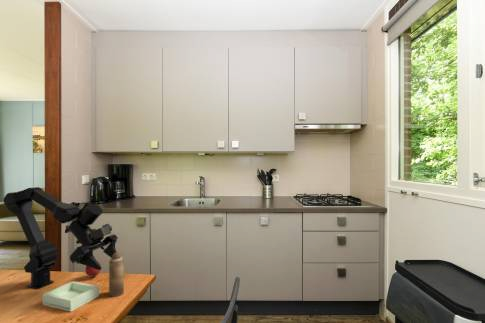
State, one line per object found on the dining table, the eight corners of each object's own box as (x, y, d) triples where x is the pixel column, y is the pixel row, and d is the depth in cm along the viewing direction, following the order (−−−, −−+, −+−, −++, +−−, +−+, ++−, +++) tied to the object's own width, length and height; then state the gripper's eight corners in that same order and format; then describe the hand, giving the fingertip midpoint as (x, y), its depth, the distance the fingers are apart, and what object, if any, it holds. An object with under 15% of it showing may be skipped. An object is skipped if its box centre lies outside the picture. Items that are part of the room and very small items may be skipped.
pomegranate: (94, 281, 112) (94, 261, 112) (82, 280, 113) (82, 260, 113) (104, 275, 118) (104, 256, 118) (92, 274, 119) (92, 255, 119)
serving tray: (42, 304, 93) (42, 294, 93) (72, 290, 104) (72, 281, 104) (70, 311, 89) (70, 300, 89) (99, 296, 99) (99, 286, 99)
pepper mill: (106, 295, 100) (106, 253, 100) (116, 289, 104) (116, 249, 104) (116, 297, 98) (116, 255, 98) (126, 291, 102) (126, 251, 103)
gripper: (76, 223, 94) (104, 258, 91) (113, 214, 112) (138, 242, 110) (57, 246, 96) (84, 280, 93) (97, 232, 114) (120, 261, 111)
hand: (109, 264), depth 102 cm, fingers open, 9 cm apart
